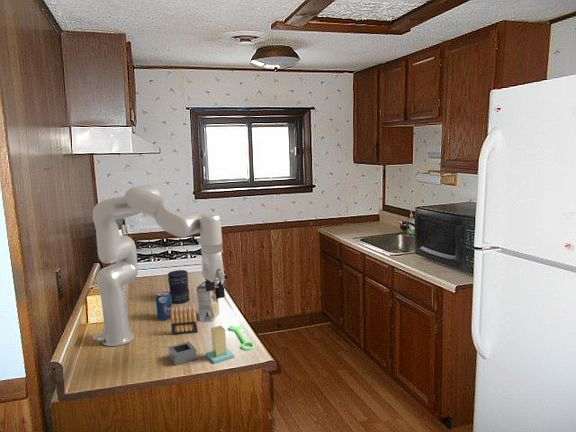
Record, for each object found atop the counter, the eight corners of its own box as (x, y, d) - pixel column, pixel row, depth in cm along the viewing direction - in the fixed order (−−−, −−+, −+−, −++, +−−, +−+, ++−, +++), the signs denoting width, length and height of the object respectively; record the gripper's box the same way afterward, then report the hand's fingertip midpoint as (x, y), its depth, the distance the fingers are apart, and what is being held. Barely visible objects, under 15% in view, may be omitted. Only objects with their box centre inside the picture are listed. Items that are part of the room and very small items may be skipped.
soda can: (168, 321, 204) (166, 296, 202) (154, 320, 205) (152, 295, 203) (175, 315, 210) (173, 291, 208) (162, 315, 212) (159, 290, 210)
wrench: (239, 327, 196) (228, 329, 194) (239, 323, 196) (227, 325, 194) (256, 349, 173) (243, 352, 171) (256, 344, 172) (242, 347, 170)
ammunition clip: (171, 335, 188) (169, 308, 187) (172, 333, 190) (169, 306, 188) (197, 332, 190) (195, 305, 188) (197, 331, 192) (195, 304, 190)
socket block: (175, 365, 162) (174, 355, 161) (169, 357, 169) (168, 347, 168) (196, 359, 166) (195, 349, 165) (189, 351, 173) (188, 341, 172)
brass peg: (216, 357, 165) (214, 331, 163) (212, 353, 168) (210, 328, 166) (226, 354, 166) (224, 329, 165) (222, 350, 170) (220, 325, 168)
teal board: (214, 363, 162) (213, 361, 162) (206, 355, 169) (205, 352, 169) (234, 357, 166) (234, 355, 166) (225, 349, 173) (225, 347, 173)
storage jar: (166, 303, 227) (163, 275, 224) (175, 297, 236) (173, 269, 234) (184, 304, 224) (182, 275, 222) (193, 298, 234) (190, 270, 231)
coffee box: (206, 313, 211) (204, 280, 209) (219, 314, 210) (217, 281, 207) (199, 321, 202) (196, 287, 200) (212, 321, 201) (209, 287, 198)
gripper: (193, 245, 166) (197, 290, 169) (211, 254, 152) (214, 303, 154) (212, 242, 170) (215, 286, 173) (231, 251, 155) (234, 298, 158)
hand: (215, 294), depth 164 cm, fingers open, 9 cm apart
